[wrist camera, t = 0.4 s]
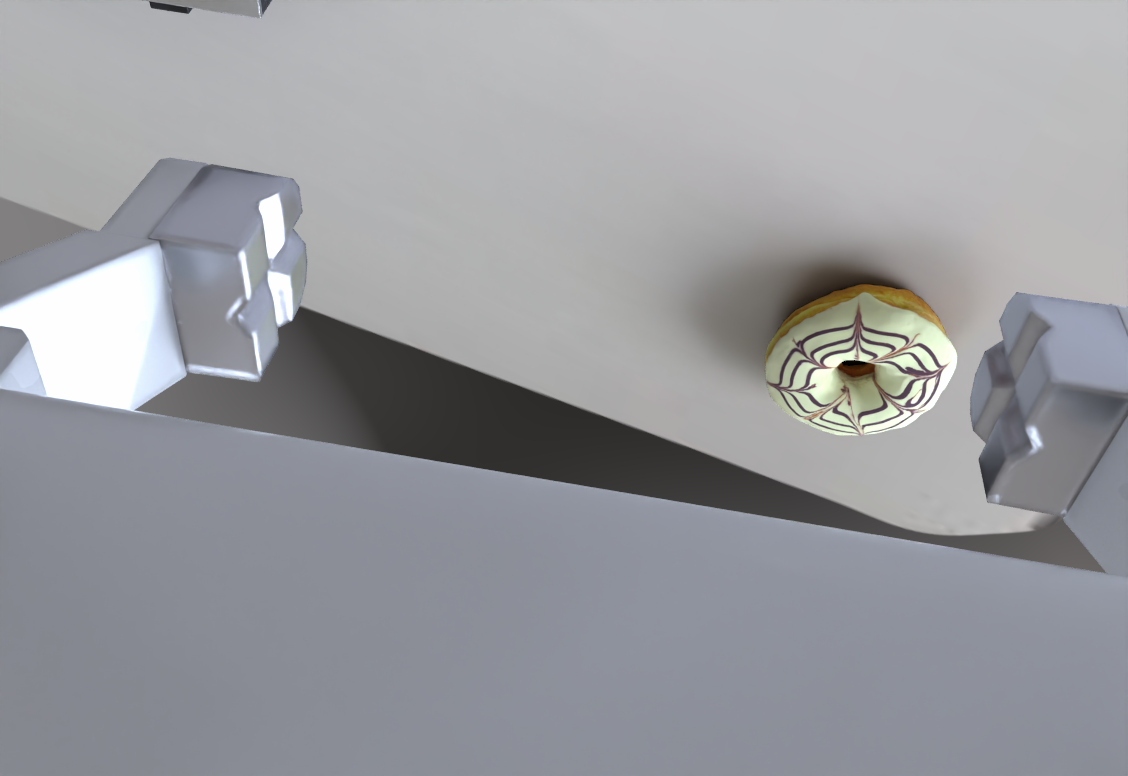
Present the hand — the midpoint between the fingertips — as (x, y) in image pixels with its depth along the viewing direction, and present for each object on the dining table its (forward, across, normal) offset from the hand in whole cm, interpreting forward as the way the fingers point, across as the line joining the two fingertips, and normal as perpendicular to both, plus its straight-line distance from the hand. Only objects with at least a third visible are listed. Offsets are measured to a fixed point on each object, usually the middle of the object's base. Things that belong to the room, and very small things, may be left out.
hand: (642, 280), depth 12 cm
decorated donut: (+42, -14, +33) cm, 55 cm away
